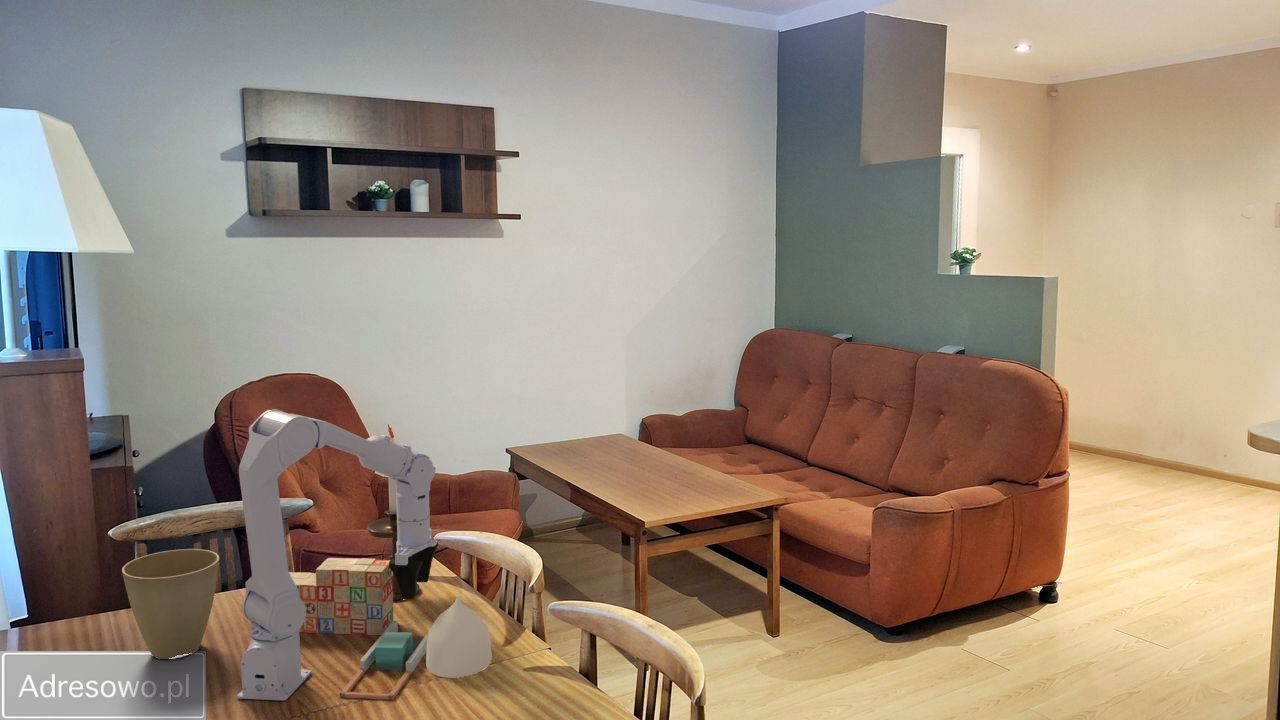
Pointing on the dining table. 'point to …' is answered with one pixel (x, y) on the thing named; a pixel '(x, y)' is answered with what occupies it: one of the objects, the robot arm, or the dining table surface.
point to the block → (393, 650)
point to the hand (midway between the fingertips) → (415, 589)
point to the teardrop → (458, 643)
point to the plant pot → (172, 598)
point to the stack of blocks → (347, 596)
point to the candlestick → (389, 528)
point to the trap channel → (369, 657)
